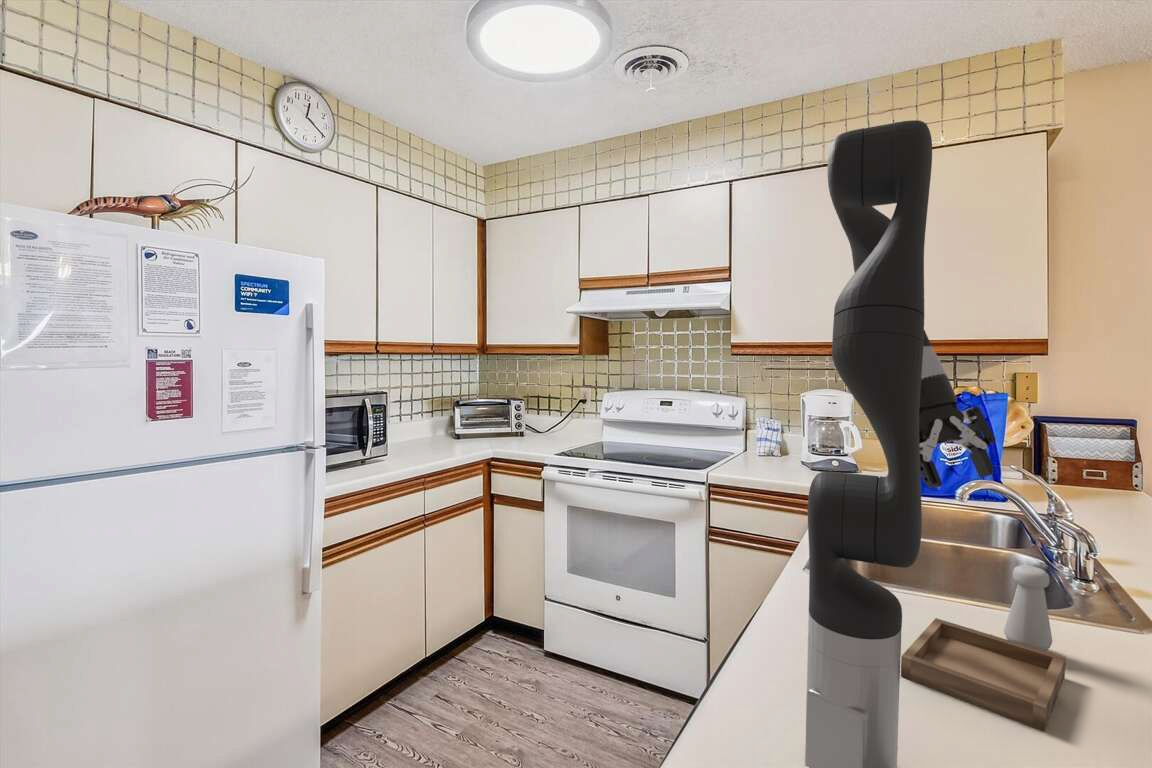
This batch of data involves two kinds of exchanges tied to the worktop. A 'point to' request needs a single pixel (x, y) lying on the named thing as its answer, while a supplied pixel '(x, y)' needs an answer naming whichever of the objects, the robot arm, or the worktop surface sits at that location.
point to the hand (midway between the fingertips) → (961, 481)
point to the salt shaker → (1029, 609)
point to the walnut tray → (986, 671)
